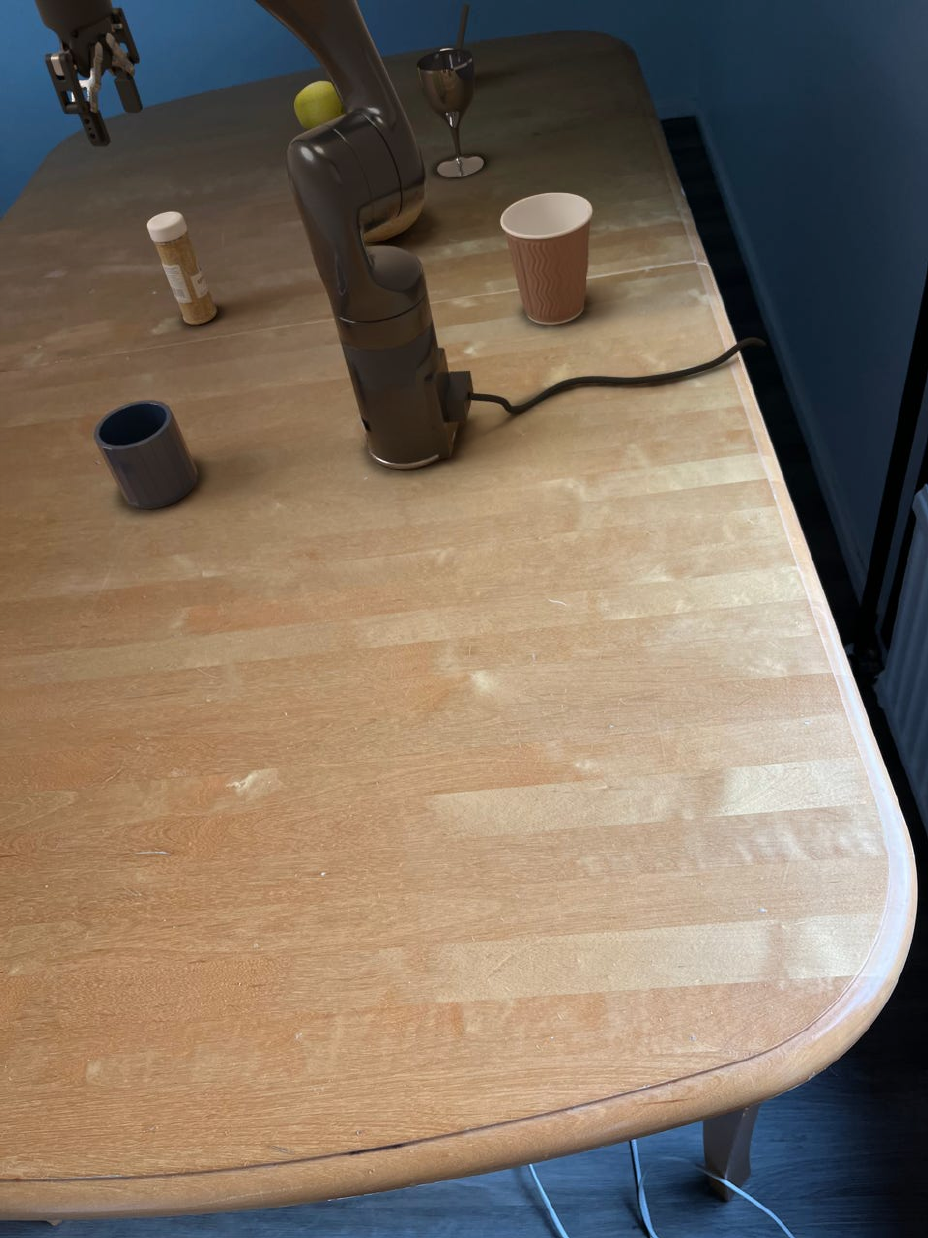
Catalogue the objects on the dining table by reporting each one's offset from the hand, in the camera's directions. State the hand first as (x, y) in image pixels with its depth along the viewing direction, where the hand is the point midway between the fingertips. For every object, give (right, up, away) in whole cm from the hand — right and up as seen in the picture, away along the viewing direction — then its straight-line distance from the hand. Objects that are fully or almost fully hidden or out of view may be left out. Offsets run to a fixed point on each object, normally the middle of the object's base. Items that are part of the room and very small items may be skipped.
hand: (118, 127), depth 118 cm
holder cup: (+7, -42, -7) cm, 43 cm away
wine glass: (+39, +11, +36) cm, 55 cm away
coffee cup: (+51, -20, +5) cm, 55 cm away
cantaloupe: (+29, -3, +25) cm, 38 cm away
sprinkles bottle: (+5, -17, +17) cm, 24 cm away
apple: (+17, +24, +53) cm, 61 cm away
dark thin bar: (+38, +34, +58) cm, 77 cm away
